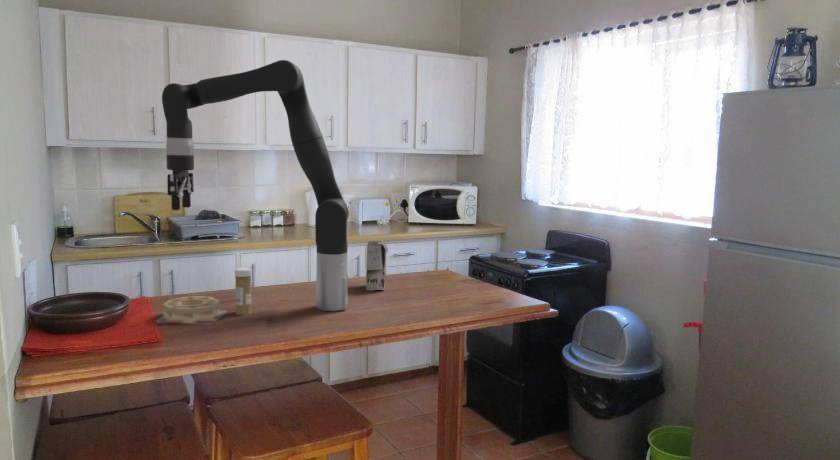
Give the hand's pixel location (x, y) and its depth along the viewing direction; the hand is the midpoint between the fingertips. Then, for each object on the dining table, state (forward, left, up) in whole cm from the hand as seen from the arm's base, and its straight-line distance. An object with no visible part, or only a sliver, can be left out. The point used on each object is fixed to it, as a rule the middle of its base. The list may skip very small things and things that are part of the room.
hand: (181, 208), depth 178 cm
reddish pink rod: (-10, +21, -29) cm, 37 cm away
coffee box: (-57, -28, -29) cm, 70 cm away
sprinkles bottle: (-21, +10, -29) cm, 37 cm away
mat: (-8, +15, -29) cm, 34 cm away
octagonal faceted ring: (-8, +15, -29) cm, 33 cm away
